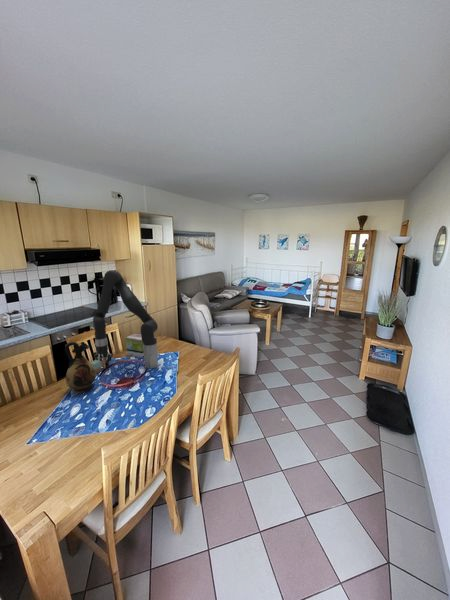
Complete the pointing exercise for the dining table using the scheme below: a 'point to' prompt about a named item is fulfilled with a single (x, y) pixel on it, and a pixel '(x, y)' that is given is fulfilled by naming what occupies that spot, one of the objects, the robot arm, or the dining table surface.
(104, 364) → the terracotta cube
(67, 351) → the ceramic jug
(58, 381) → the dining table surface
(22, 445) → the dining table surface
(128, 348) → the tea box
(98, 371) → the walnut base block
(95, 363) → the teal middle block
